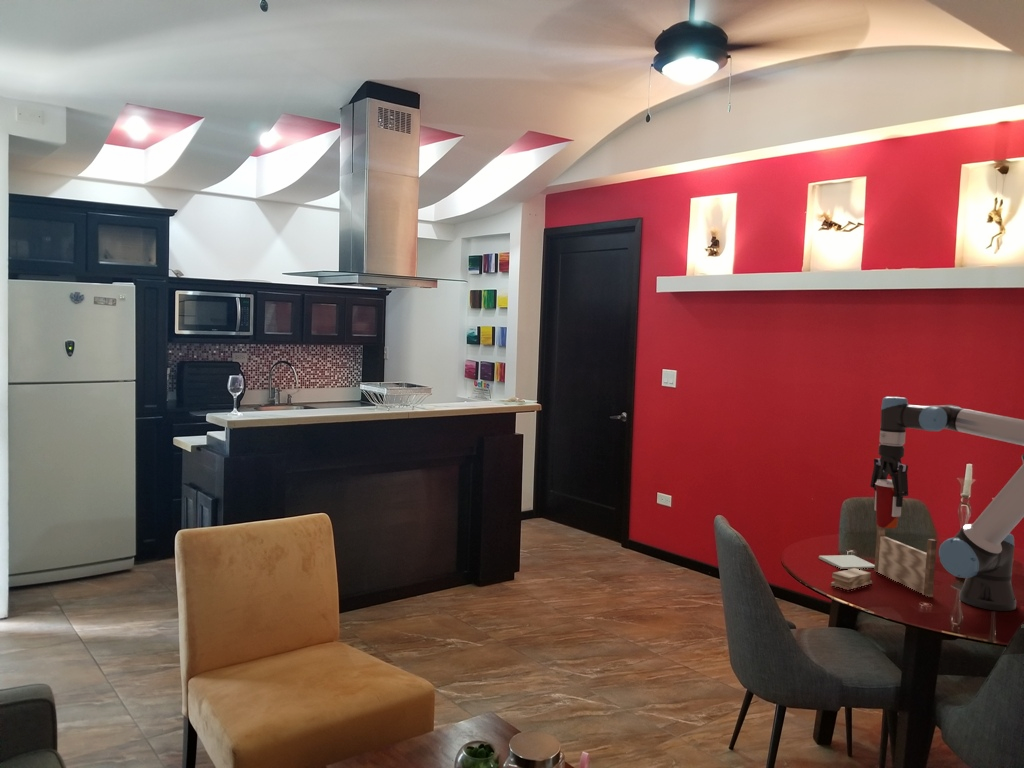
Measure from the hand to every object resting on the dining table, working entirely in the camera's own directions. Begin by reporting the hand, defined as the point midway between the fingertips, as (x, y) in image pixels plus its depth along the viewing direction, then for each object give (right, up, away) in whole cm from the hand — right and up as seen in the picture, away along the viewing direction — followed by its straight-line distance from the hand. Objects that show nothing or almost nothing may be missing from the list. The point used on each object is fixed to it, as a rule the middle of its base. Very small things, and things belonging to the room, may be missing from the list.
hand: (887, 513), depth 259 cm
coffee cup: (0, -4, 0) cm, 4 cm away
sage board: (-3, -22, +25) cm, 33 cm away
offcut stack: (-12, -24, -1) cm, 27 cm away
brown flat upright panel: (+6, -24, +3) cm, 25 cm away
